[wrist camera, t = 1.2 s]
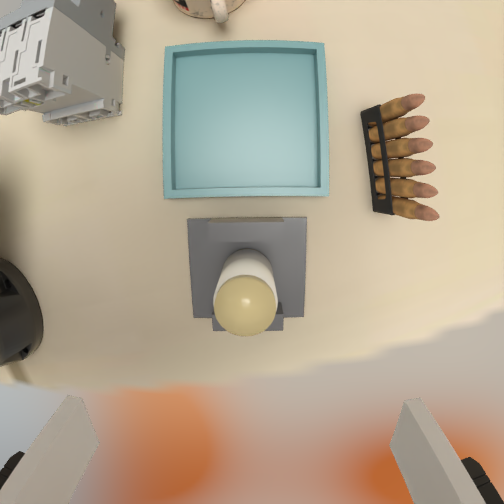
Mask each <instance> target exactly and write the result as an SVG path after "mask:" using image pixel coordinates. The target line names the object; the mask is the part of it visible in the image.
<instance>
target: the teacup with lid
mask: <svg viewBox="0 0 504 504" xmlns="http://www.w3.org/2000/svg"><path fill="white" fill-rule="evenodd" d="M173 1H174V3H175V5H176V6H177V7H178V9H179V10H181V11H182V12H183V13H185V14H187V15H190V16H193V17H198V18H213V17H214V18H215V21H216V22H217V23H222V22H226V21H227V20H228V13H230V12H232V11H233V10H235V9H236V8H238V7H239V6H240V5H241V4H242V3H243V2H244V1H245V0H173Z"/></svg>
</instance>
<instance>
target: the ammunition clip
mask: <svg viewBox="0 0 504 504" xmlns="http://www.w3.org/2000/svg"><path fill="white" fill-rule="evenodd" d="M424 100H425V96H424V95H422V94H411V95H407V96H405V97H401V98H395V99H393V100H391V101H389V102H387V103H385V104H383V105H376V106H374V107H371V108H369V109H366V110H364V111H361V119H362V125H363V132H364V138H365V145H366V152H367V159H368V167H369V175H370V184H371V193H372V204H373V211H374V212H379V213H384V214H389V215H399V216H402V217H405V218H409V219H420V220H425V221H433V220H437V219H438V218H439V214H438V213H437V212H436V211H435V210H434V209H432V208H430V207H428V206H425V205H422V204H419V203H418V202H416V201H414V200H409V199H408V198H415V197H418V198H420V197H421V198H430V197H433V196H435V195H437V194H438V191H437V189H436V188H434V187H433V186H431V185H429V184H426V183H421V182H416V181H414V180H412V179H406V177H412V176H417V175H426V174H429V173H431V172H433V171H434V170H435V169H436V167H435V165H434V164H432V163H430V162H428V161H423V160H413V159H409V158H404V157H408V156H411V155H413V154H416V153H421V152H424V151H427V150H428V149H430V148H431V147H432V145H433V143H432V141H430V140H428V139H424V138H410V139H409V138H401V137H404V136H407V135H409V134H410V133H412V132H415V131H418V130H420V129H422V128H424V127H425V126H426V125H427V124H428V123H429V119H428V118H427V117H424V116H412V117H407V118H399V117H401V116H404V115H405V114H407V113H408V112H409V111H411V110H413V109H415V108H417V107H418V106H420V105H421V104H422V103H423V102H424ZM391 139H396V140H391ZM387 140H391V141H387ZM385 141H386V142H385ZM390 158H398V159H390ZM390 177H400V178H390ZM392 195H393V196H392ZM395 196H399V197H395Z"/></svg>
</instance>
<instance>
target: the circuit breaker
mask: <svg viewBox="0 0 504 504" xmlns="http://www.w3.org/2000/svg"><path fill="white" fill-rule="evenodd" d="M115 9H116V3H115V2H114V1H113V0H22V4H21V7H20V8H19V9H17V10H15V11H13V12H11V13H9V14H7V15H5V16H4V17H2V18H0V107H2V108H0V114H2V115H8V114H11V113H14V112H16V111H19V110H25V111H26V110H30V111H35V112H39V113H44V115H42V117H43V122H47V123H52V124H57V125H60V124H63V125H64V126H69V125H73V124H78V123H82V122H87V121H92V120H97V119H102V118H108V117H113V116H119V115H122V111H119V104H122V93H123V70H124V54H125V48H124V47H123V46H122V45H121V44H120V43H115V42H116V40H115V39H114V38H113V37H112V34H113V25H114V16H115ZM109 111H111V113H110V112H109ZM98 115H99V116H98Z"/></svg>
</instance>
